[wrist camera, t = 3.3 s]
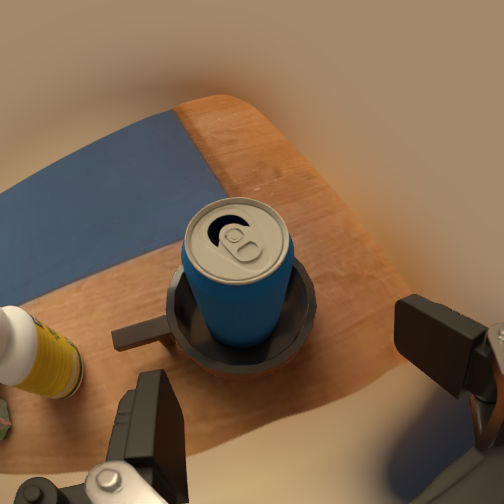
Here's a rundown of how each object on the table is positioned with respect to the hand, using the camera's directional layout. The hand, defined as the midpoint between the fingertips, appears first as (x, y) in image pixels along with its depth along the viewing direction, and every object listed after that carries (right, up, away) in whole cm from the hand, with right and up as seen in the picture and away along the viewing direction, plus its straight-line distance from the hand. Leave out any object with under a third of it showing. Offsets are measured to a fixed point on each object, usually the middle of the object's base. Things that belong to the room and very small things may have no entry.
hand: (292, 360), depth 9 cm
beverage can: (-2, -2, +17) cm, 17 cm away
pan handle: (-10, -5, +16) cm, 19 cm away
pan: (-2, -2, +17) cm, 17 cm away
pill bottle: (-20, -8, +14) cm, 25 cm away
